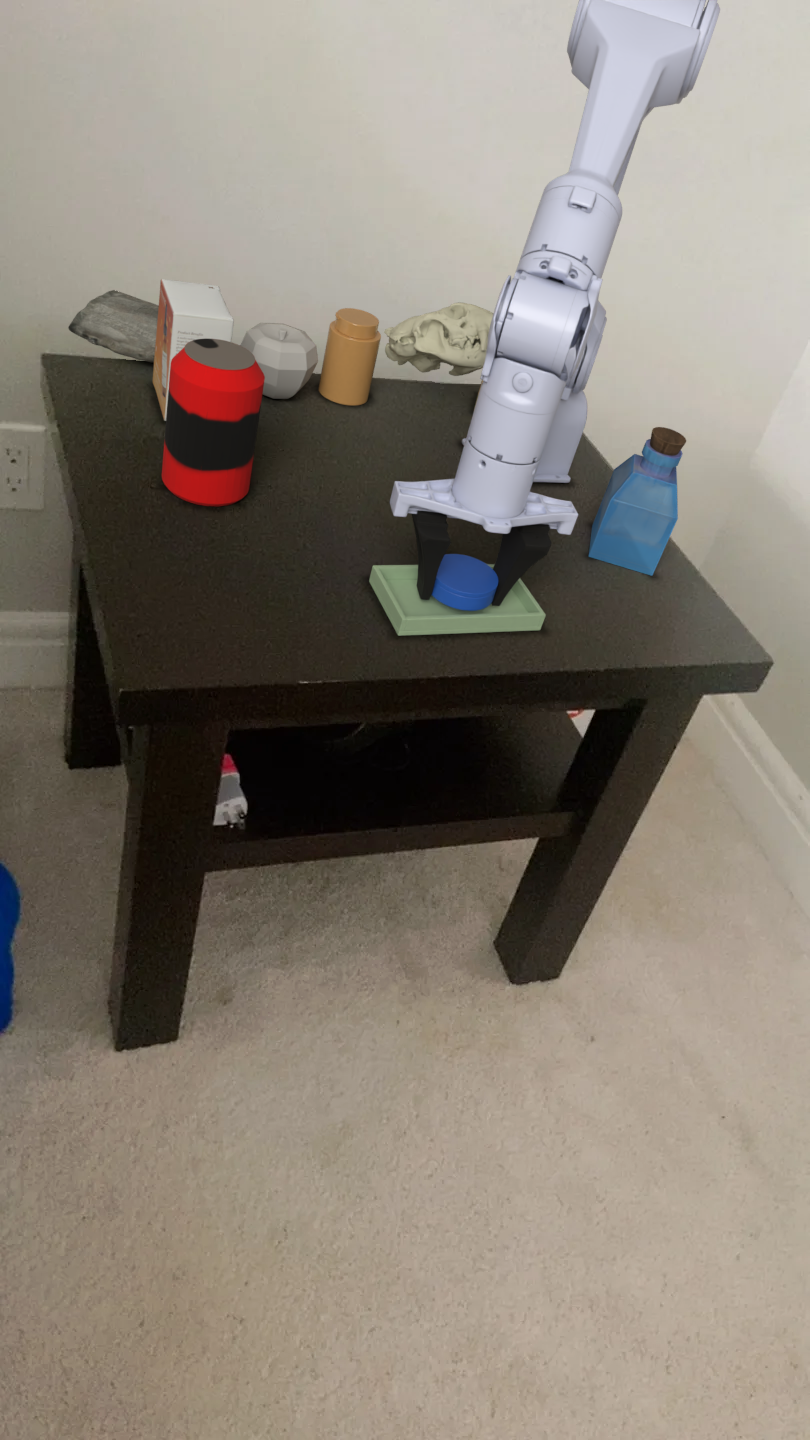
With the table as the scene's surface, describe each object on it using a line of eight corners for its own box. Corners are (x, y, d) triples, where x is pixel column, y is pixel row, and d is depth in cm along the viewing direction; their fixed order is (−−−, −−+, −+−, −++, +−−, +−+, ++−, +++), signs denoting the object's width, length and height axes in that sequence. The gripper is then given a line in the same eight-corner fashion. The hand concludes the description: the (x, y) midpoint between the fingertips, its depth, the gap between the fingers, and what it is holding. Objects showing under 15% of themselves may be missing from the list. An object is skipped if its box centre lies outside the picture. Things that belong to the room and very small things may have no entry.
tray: (505, 579, 91) (510, 563, 90) (540, 630, 87) (546, 614, 86) (368, 581, 86) (372, 565, 85) (397, 635, 82) (402, 619, 81)
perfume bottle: (652, 575, 98) (703, 460, 90) (588, 556, 98) (634, 439, 90) (652, 544, 102) (702, 431, 95) (592, 525, 102) (636, 412, 95)
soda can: (216, 457, 96) (231, 329, 88) (265, 498, 93) (285, 369, 85) (144, 471, 91) (153, 338, 84) (193, 515, 88) (207, 380, 80)
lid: (421, 600, 83) (426, 583, 82) (428, 564, 88) (433, 546, 87) (491, 617, 84) (497, 600, 82) (494, 580, 88) (500, 563, 87)
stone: (243, 358, 113) (118, 321, 115) (246, 320, 111) (119, 284, 113) (196, 386, 104) (63, 347, 107) (198, 346, 102) (62, 307, 104)
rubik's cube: (521, 424, 116) (536, 377, 113) (473, 411, 116) (487, 363, 113) (524, 405, 121) (538, 359, 117) (478, 392, 120) (491, 346, 117)
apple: (327, 401, 110) (338, 340, 105) (272, 415, 104) (281, 352, 100) (275, 369, 113) (284, 308, 109) (219, 381, 108) (226, 318, 103)
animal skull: (366, 377, 118) (370, 309, 118) (417, 400, 125) (421, 335, 125) (471, 350, 108) (475, 275, 108) (520, 376, 115) (525, 306, 115)
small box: (151, 383, 104) (159, 276, 98) (208, 387, 106) (219, 283, 100) (162, 422, 99) (171, 311, 92) (221, 426, 101) (234, 318, 94)
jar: (356, 382, 115) (371, 307, 110) (375, 406, 112) (392, 329, 107) (311, 381, 113) (324, 304, 108) (329, 405, 110) (343, 326, 104)
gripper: (419, 460, 72) (379, 618, 81) (610, 484, 76) (552, 632, 85) (402, 413, 77) (366, 566, 86) (582, 437, 81) (530, 581, 90)
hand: (457, 595), depth 86 cm, fingers closed on lid, 5 cm apart
